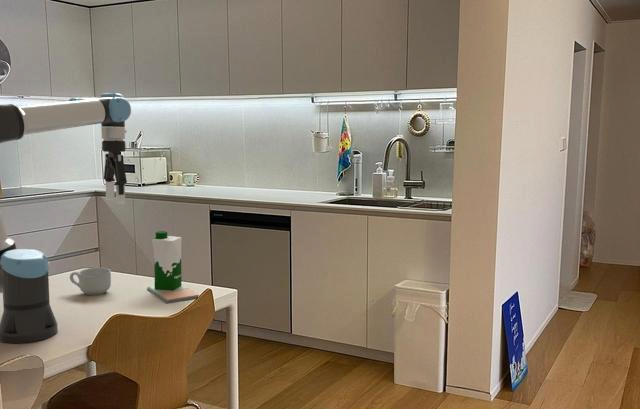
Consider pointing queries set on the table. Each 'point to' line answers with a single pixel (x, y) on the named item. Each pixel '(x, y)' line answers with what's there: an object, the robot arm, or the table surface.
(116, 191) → the robot arm
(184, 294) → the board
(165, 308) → the table surface
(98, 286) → the teacup
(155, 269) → the soya milk
